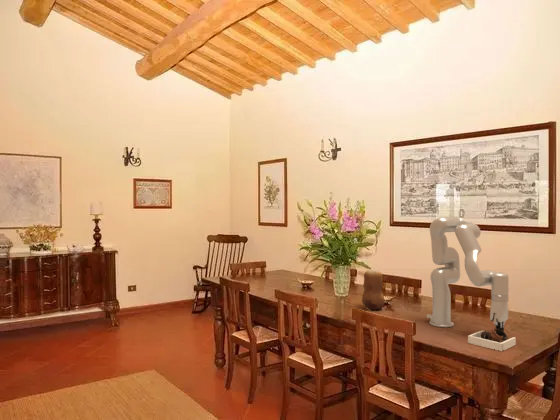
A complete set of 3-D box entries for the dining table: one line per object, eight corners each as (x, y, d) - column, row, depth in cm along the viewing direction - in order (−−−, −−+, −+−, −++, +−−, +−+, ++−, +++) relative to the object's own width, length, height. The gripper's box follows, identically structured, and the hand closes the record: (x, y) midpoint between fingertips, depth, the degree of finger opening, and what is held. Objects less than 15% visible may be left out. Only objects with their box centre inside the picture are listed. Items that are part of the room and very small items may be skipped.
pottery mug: (494, 340, 221) (502, 327, 218) (504, 354, 213) (513, 341, 209) (473, 335, 219) (481, 323, 215) (482, 349, 210) (491, 337, 207)
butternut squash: (382, 307, 290) (382, 268, 290) (385, 312, 277) (385, 271, 276) (361, 306, 291) (361, 268, 291) (363, 311, 278) (363, 271, 278)
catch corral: (468, 343, 215) (468, 335, 215) (482, 337, 225) (482, 330, 225) (501, 351, 203) (501, 343, 203) (515, 344, 212) (515, 337, 212)
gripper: (499, 294, 226) (499, 330, 227) (484, 298, 217) (484, 336, 217) (514, 297, 221) (514, 334, 221) (500, 301, 211) (500, 340, 211)
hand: (499, 335), depth 219 cm, fingers closed
